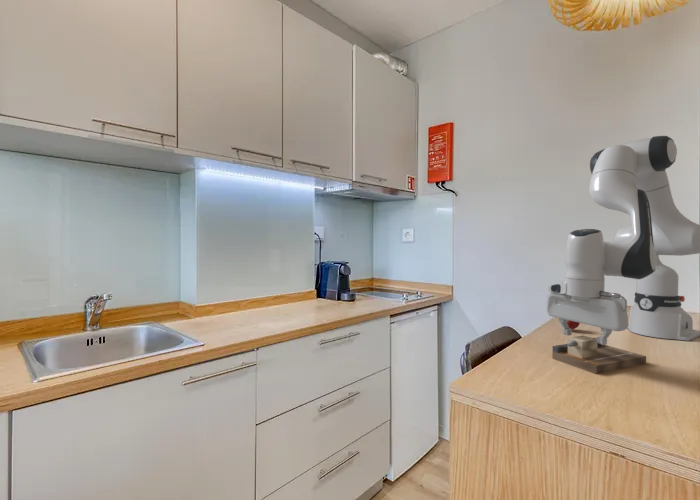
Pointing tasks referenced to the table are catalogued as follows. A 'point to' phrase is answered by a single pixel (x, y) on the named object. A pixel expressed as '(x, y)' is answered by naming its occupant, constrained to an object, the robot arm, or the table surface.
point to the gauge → (582, 346)
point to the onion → (572, 324)
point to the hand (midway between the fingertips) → (583, 339)
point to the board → (599, 358)
